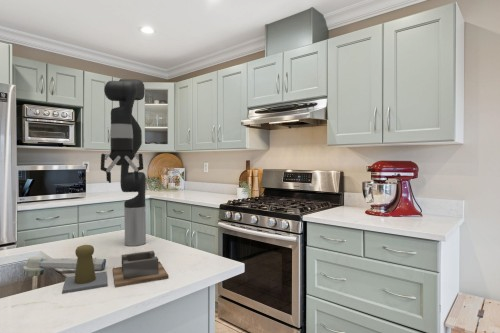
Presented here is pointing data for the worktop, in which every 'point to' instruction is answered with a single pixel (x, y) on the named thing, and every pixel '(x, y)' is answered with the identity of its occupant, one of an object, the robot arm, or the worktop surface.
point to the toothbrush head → (56, 265)
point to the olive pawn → (84, 265)
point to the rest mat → (72, 287)
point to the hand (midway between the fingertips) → (122, 182)
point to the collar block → (139, 269)
